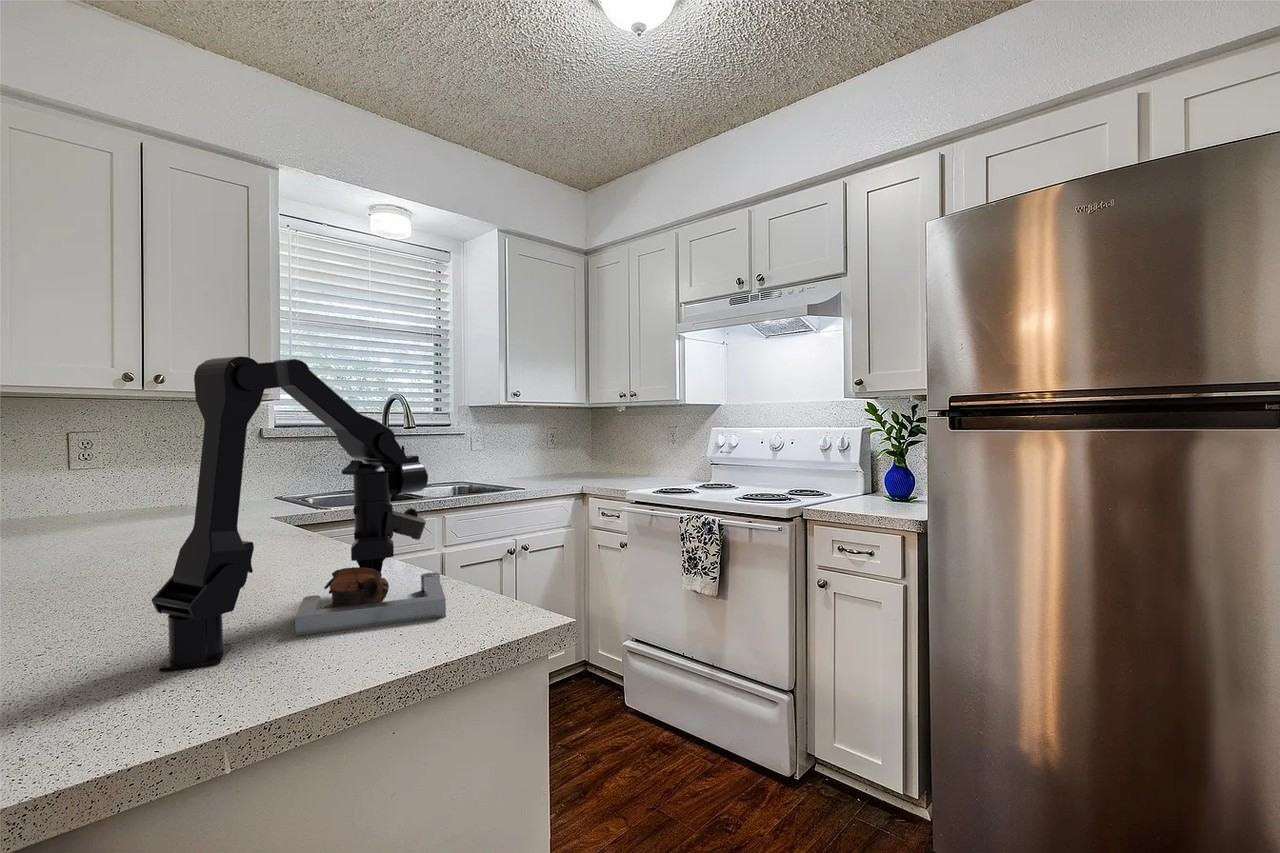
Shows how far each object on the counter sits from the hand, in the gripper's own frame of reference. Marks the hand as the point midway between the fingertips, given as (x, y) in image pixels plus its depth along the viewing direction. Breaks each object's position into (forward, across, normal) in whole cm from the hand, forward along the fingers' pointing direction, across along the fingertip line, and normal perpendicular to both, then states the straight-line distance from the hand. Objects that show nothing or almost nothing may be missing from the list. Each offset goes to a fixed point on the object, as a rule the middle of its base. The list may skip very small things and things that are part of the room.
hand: (374, 589), depth 107 cm
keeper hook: (+1, -6, 0) cm, 6 cm away
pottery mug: (+2, -7, +2) cm, 8 cm away
